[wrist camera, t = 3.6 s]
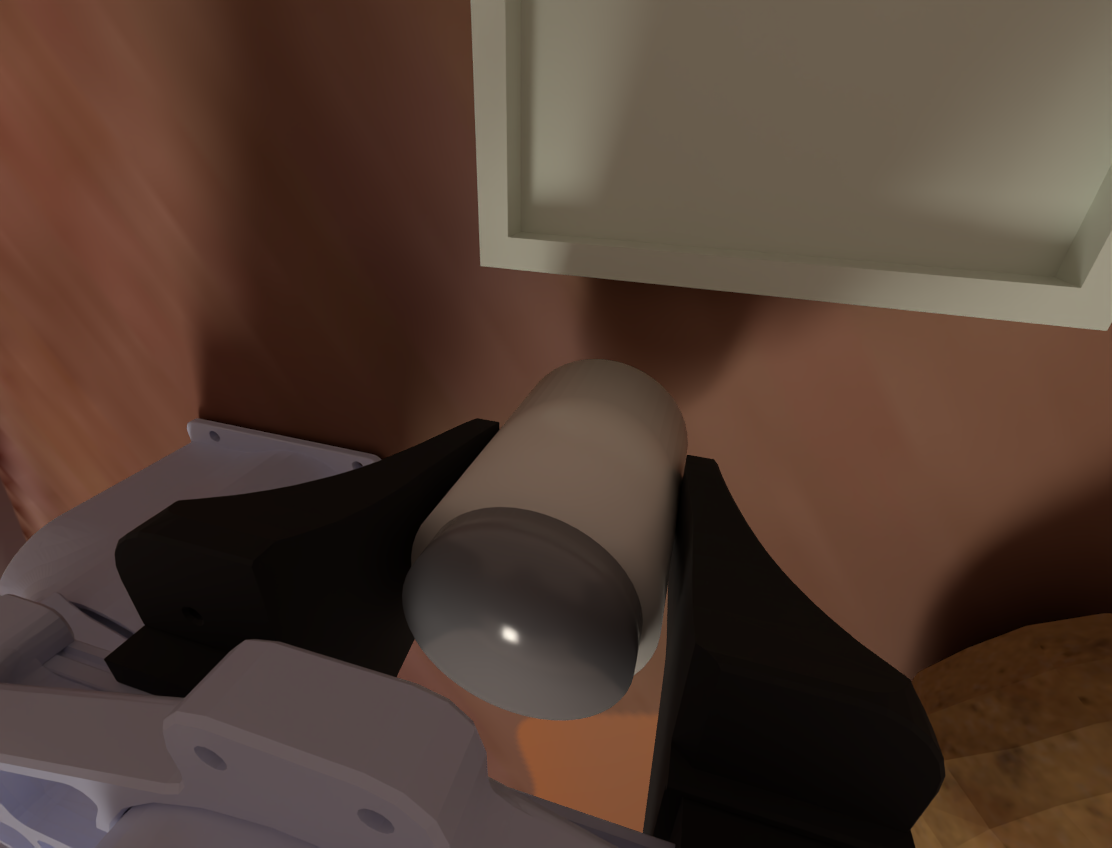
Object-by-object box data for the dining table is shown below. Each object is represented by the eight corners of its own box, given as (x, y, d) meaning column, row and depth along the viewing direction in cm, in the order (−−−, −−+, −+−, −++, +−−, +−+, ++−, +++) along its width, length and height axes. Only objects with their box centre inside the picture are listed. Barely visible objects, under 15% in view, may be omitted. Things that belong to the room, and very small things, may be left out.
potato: (761, 707, 21) (776, 973, 14) (1077, 457, 13) (1429, 775, 7) (982, 827, 21) (1105, 1161, 14) (1438, 638, 13) (2204, 1174, 6)
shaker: (521, 490, 16) (401, 686, 10) (522, 347, 14) (369, 494, 8) (673, 522, 15) (636, 762, 9) (701, 373, 12) (677, 565, 7)
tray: (502, 255, 15) (480, 265, 14) (494, -259, 10) (458, -318, 9) (1064, 309, 12) (1106, 330, 11) (1437, -401, 7) (1603, -528, 6)
